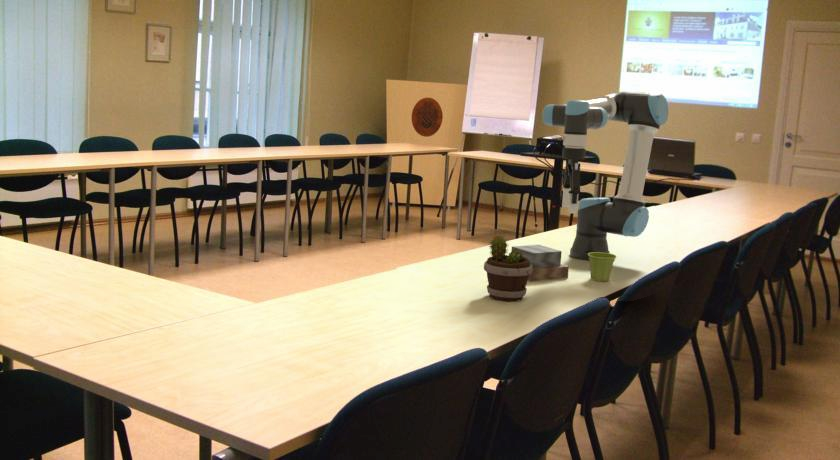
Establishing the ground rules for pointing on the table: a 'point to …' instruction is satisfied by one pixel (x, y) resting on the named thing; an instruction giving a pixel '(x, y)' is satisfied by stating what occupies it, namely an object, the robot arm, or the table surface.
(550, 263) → the pedestal
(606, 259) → the plant pot
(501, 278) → the flowerpot
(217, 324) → the table surface
